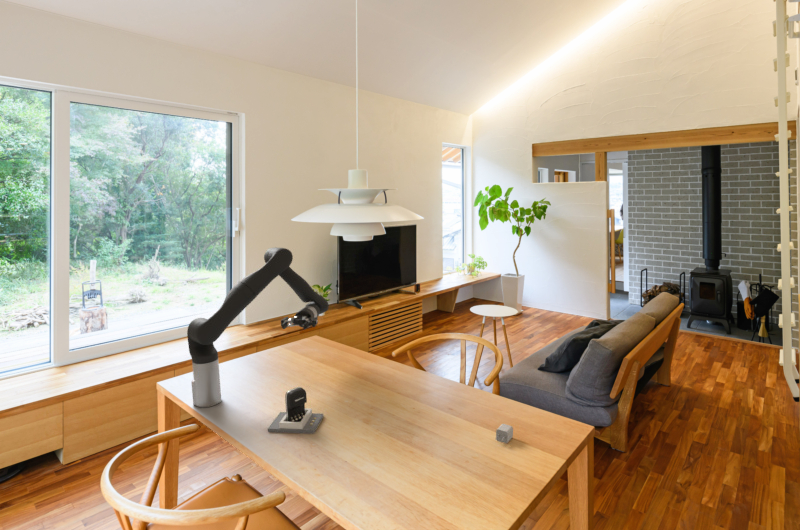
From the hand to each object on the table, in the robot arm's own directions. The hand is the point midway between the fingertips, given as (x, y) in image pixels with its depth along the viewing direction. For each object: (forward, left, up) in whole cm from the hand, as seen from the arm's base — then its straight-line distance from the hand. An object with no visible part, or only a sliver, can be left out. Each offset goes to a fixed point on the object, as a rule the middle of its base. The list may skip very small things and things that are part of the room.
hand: (293, 326), depth 178 cm
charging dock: (+8, -24, -28) cm, 38 cm away
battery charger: (+8, -24, -27) cm, 37 cm away
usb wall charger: (+78, -29, -28) cm, 88 cm away
